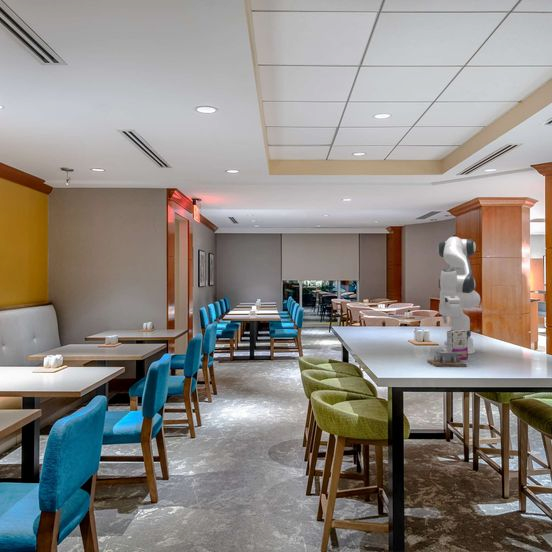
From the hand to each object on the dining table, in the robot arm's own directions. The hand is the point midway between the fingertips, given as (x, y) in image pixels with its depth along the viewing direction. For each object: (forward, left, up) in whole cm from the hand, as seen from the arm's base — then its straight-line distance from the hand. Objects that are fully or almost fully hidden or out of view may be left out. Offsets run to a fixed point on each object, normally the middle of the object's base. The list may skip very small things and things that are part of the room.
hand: (448, 324), depth 254 cm
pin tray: (+1, -2, -22) cm, 22 cm away
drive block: (+1, -2, -20) cm, 20 cm away
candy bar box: (-17, +11, -22) cm, 30 cm away
